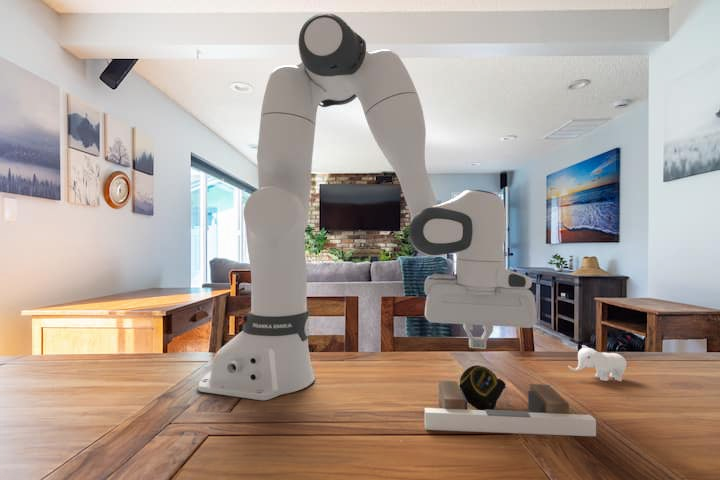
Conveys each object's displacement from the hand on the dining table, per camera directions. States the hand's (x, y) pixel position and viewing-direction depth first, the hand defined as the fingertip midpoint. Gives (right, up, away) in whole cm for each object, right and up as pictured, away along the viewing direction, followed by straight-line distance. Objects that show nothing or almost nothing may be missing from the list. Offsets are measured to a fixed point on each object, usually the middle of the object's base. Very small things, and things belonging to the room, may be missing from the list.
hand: (477, 347), depth 69 cm
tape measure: (-1, -8, -8) cm, 11 cm away
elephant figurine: (+27, -8, +5) cm, 28 cm away
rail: (0, -8, -12) cm, 15 cm away
